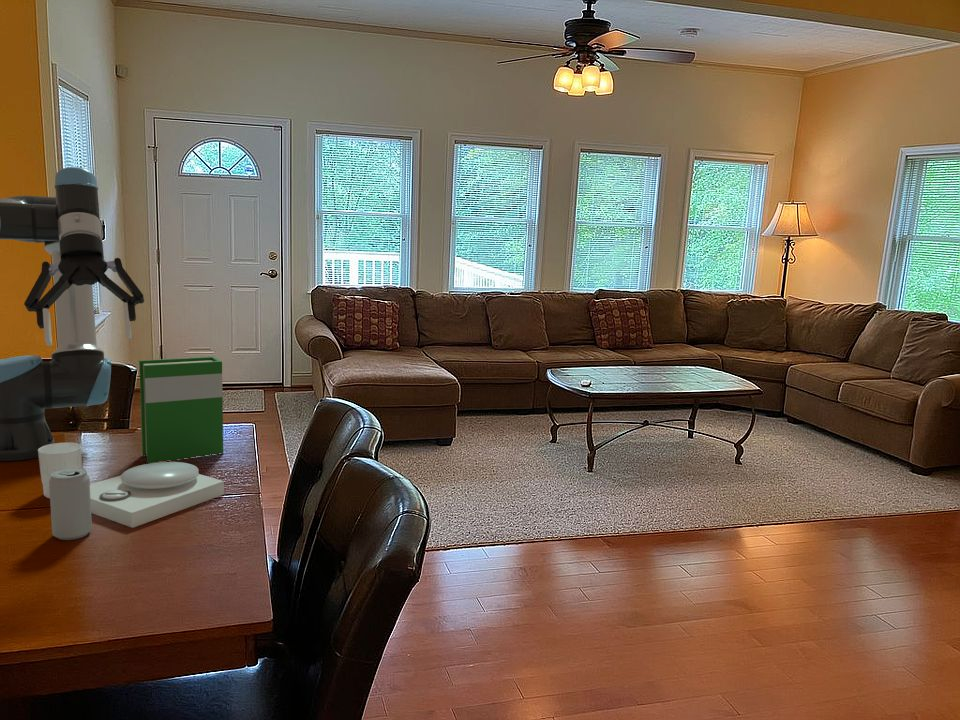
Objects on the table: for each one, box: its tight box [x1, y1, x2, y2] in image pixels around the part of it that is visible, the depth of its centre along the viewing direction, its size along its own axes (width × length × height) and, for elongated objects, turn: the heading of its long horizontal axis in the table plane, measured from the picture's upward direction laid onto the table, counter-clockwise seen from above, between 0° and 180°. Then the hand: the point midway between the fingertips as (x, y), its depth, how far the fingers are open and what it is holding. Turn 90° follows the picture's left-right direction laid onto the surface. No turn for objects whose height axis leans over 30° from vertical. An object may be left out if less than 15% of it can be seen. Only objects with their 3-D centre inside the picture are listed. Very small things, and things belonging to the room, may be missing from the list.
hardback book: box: [138, 356, 224, 464], centre depth 179 cm, size 18×7×24 cm, turn 124°
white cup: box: [38, 442, 82, 499], centre depth 152 cm, size 8×8×10 cm
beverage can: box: [49, 467, 93, 541], centre depth 132 cm, size 6×6×12 cm
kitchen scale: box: [90, 461, 225, 529], centre depth 151 cm, size 20×22×5 cm
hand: (89, 339), depth 138 cm, fingers open, 13 cm apart
